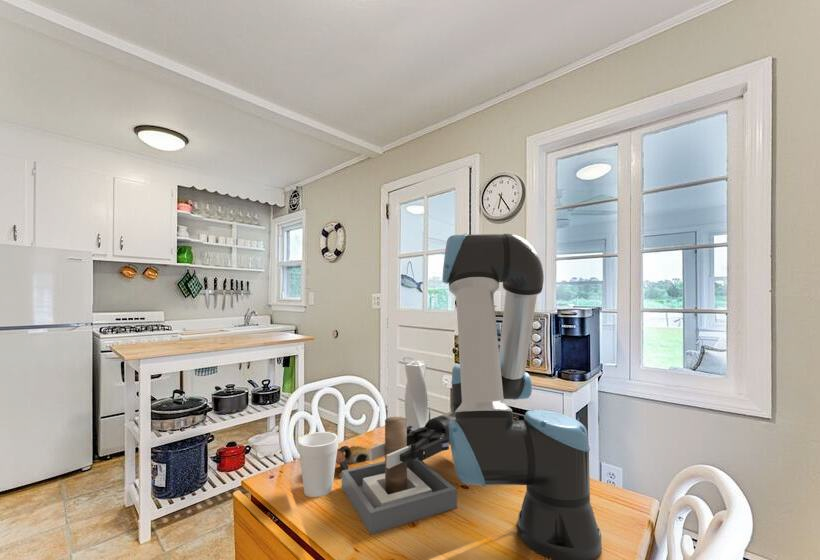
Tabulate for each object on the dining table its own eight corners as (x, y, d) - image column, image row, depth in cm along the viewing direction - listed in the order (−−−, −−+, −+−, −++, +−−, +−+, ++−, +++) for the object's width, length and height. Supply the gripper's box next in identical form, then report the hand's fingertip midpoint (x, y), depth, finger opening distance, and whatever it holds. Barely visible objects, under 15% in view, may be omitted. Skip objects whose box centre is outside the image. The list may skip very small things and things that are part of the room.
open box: (456, 512, 82) (456, 488, 82) (370, 539, 73) (370, 513, 73) (414, 473, 99) (414, 454, 100) (341, 491, 91) (341, 470, 91)
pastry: (341, 455, 112) (342, 442, 112) (363, 451, 115) (363, 438, 115) (350, 468, 103) (350, 454, 104) (373, 463, 106) (373, 450, 106)
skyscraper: (407, 452, 113) (407, 359, 114) (400, 442, 120) (400, 355, 122) (434, 449, 115) (433, 357, 116) (425, 439, 123) (424, 354, 124)
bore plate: (431, 503, 83) (431, 489, 84) (381, 517, 78) (381, 503, 78) (408, 479, 94) (407, 467, 94) (362, 491, 89) (362, 478, 89)
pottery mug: (337, 490, 92) (321, 461, 93) (315, 497, 97) (299, 469, 97) (365, 459, 102) (350, 433, 103) (343, 467, 107) (329, 441, 108)
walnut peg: (410, 492, 85) (410, 421, 86) (390, 498, 83) (390, 425, 84) (401, 483, 90) (400, 415, 90) (382, 488, 87) (381, 418, 88)
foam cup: (290, 494, 90) (291, 438, 90) (324, 480, 96) (324, 429, 97) (311, 509, 83) (311, 450, 84) (345, 494, 90) (345, 438, 90)
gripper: (472, 454, 93) (408, 489, 76) (419, 435, 106) (353, 463, 89) (472, 423, 94) (408, 452, 77) (419, 409, 106) (353, 430, 89)
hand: (379, 457), depth 83 cm, fingers closed on walnut peg, 5 cm apart
